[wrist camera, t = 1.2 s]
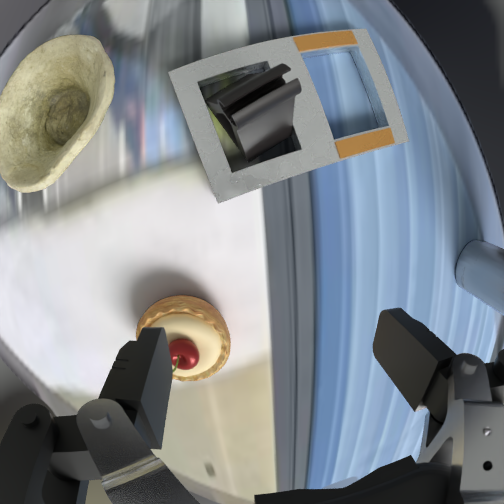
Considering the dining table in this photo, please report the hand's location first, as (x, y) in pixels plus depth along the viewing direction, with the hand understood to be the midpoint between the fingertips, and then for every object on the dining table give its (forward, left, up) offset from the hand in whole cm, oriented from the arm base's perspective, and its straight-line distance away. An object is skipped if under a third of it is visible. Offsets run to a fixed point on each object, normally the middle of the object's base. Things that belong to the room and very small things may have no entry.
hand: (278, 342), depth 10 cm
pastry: (+12, +11, -25) cm, 30 cm away
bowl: (+15, -21, -25) cm, 36 cm away
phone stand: (-5, -11, -25) cm, 27 cm away
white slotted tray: (-11, -11, -24) cm, 29 cm away
